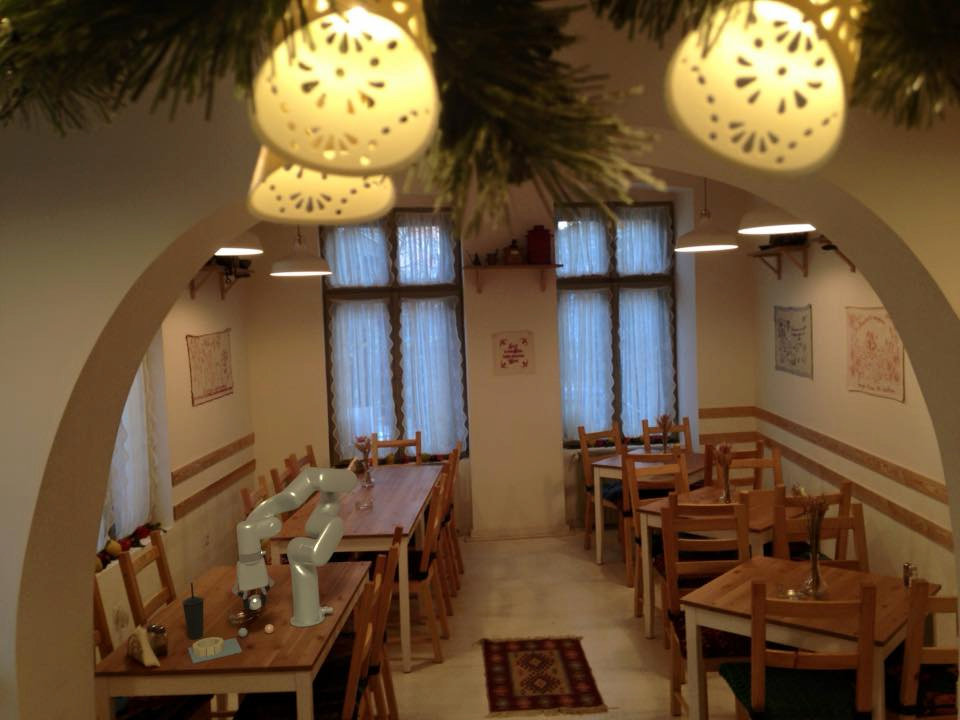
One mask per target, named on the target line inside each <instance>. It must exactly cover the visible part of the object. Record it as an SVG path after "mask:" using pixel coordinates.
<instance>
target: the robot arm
mask: <svg viewBox="0 0 960 720" xmlns="http://www.w3.org/2000/svg"><path fill="white" fill-rule="evenodd" d="M357 485H358V477H357V475H356V473H355V472H353V471H352V470H350V469H341V468H340V469H339V468H324V467H315V466H311V467H305V468H304V469H303V470H302V471H301V472H300V473H299V474H298V475H297V476H296V477H295V478H294V479H293V480H291V482H290V483H289V484H288V485H287V486H286V487H284V489H283V490H281V492H279V493H276V494H275V495H273V496H271V497H268V498H267V499H265V500H264V501H262V502H261V503H260V504H258V505H257V506H256V507H255V508H253V510H252V511H251V512H250V513H249V515H248V516H247V517H246V519H245V520H244V521H243V520H242V521H240V522H238V524H236V537H237V538H236V539H237V546H238V558H239V559H238V561H237V563H236V582H235V584H234V586H233V587H232V589H231V592H232V593H233V594H235V595H237V596H238V597H240V598H241V599H242V603H243V604H242V606H243V608H245V610H246V611H249V610H250V608H249V604H248V599H249V597H248V596H247V595H248V592H249V591H251V590H255V589H256V590H257V589H260V590H261V591H260V592H261V593H260V597H261V599H262V605H261V606H262V607H265V606H266V604H267V594H268V592H269V590H270V589H271V588H272V587H273V586H274V584H275V583H276V582H275V580H274V579H272V578H271V577H270V576H269V575H268V570H267V566H266V561H265V558H264V557H263V556H264V555H266V550H263V549H262V545H261V540H265V539H271V538H274V537H276V536H278V535H279V534H280V533H281V531H282V528H283V527H282V526H283V523H282V521H281V520H280V519H279V518H278V517H276V516H278V515H279V514H283V513H286V512H290V511H293V510H296V509H299V508H300V507H301V506H302V505H303V504H304V503H305V502H306V501H307V500H308V499H309V497H311V495H312V494H313V493H315V491H319V492H320V495H319V501H318V502H317V504H316V506H315V508H314V509H313V510H312V513H311V514H310V516H309V517H308V519H307V521H306V523H305V525H304V532H305V534H306V535H307V536H308V537H306V536H297V537H294V538H293V539H291V540H290V541H289V543H288V544H287V548H286V556H287V560H288V563H289V567H290V568H289V569H290V573H291V589H292V591H291V592H292V603H293V616H292V617H290V625H292V626H294V627H299V628H301V627H302V628H303V627H311V626H316V625H318V624H320V623H322V622H324V620H325V618H326V617H325V615H326V614H327V613H332V612H333V611H334V609H333V606H329V607H328V606H327V605H326V606H321V605H320V593H319V589H320V588H319V576H318V569H317V567H322V566H325V565H326V564H327V563H328V562H329V560H330V559H331V557H332V556H333V554H334V552H335V551H336V549H337V548H338V545H339V543H340V542H341V540H342V538H343V536H344V533H345V527H346V526H345V522H344V520H343V519H342V517H340V516H338V513H340V509H341V506H342V505H341V504H342V503H341V497H340V493H345V494H346V493H351V492H352V491H354V489H355V488H356V487H357ZM238 589H239V590H238Z"/></svg>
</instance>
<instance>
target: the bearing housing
mask: <svg viewBox="0 0 960 720" xmlns="http://www.w3.org/2000/svg"><path fill="white" fill-rule="evenodd" d="M187 651H188V653H189V657H190V660H191V662H192V664H197V663H201V662H204V661H209V660H212V659H218V658H222V657H228V656H230V655H235V653H236V654H241V653H243V651H242V647H241V646H240V644H239V642H238V640H237V638H236V637H233V638H229V639H225V640H224V638H223V637H217V636H216V637H214V636H213V637H212V636H211V637H206V638H203V639H202V638H200V639H198V640H197V641H196V642H194V643H192V647H188V648H187ZM240 652H241V653H240Z"/></svg>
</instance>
